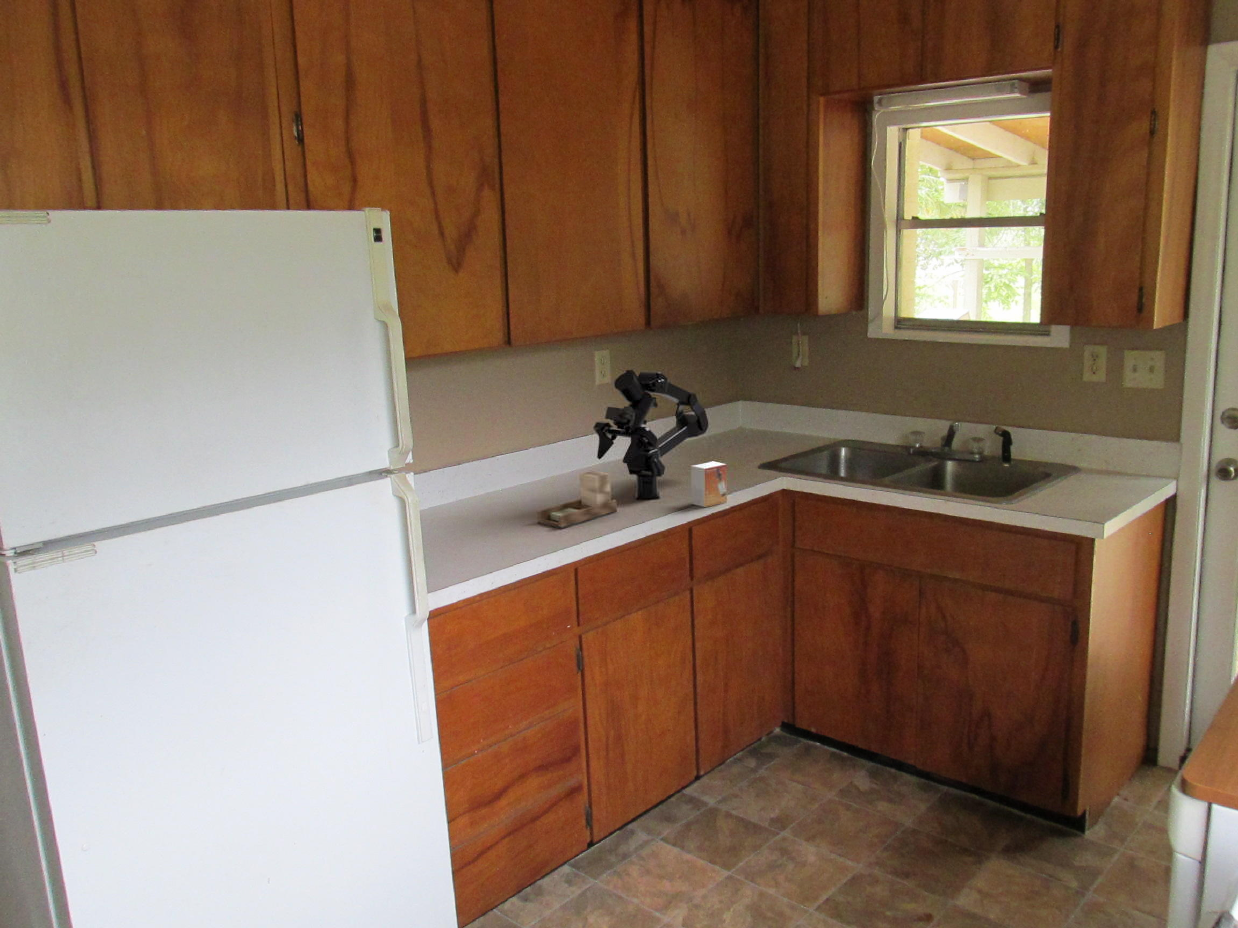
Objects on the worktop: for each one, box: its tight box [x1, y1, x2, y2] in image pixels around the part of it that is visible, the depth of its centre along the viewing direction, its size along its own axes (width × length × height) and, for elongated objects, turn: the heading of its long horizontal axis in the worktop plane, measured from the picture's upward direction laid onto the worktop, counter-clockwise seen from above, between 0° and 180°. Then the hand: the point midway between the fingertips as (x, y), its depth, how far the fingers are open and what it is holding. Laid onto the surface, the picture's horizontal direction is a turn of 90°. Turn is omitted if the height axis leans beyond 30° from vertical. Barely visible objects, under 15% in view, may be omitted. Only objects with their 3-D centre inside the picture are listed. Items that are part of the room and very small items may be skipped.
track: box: [536, 498, 618, 530], centre depth 266 cm, size 20×9×3 cm, turn 136°
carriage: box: [579, 470, 612, 506], centre depth 269 cm, size 5×6×8 cm
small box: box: [690, 460, 728, 508], centre depth 274 cm, size 8×6×10 cm
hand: (610, 460), depth 272 cm, fingers open, 9 cm apart
